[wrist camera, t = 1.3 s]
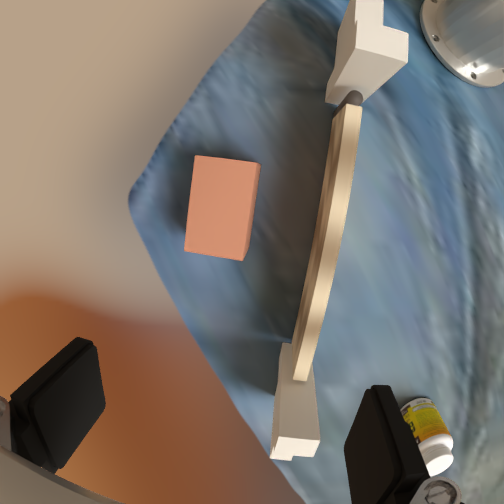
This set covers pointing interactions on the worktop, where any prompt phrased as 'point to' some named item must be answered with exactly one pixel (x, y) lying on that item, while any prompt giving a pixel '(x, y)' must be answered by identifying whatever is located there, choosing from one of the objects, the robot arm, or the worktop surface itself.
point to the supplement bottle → (429, 434)
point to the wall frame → (339, 85)
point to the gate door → (327, 231)
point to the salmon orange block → (221, 207)
